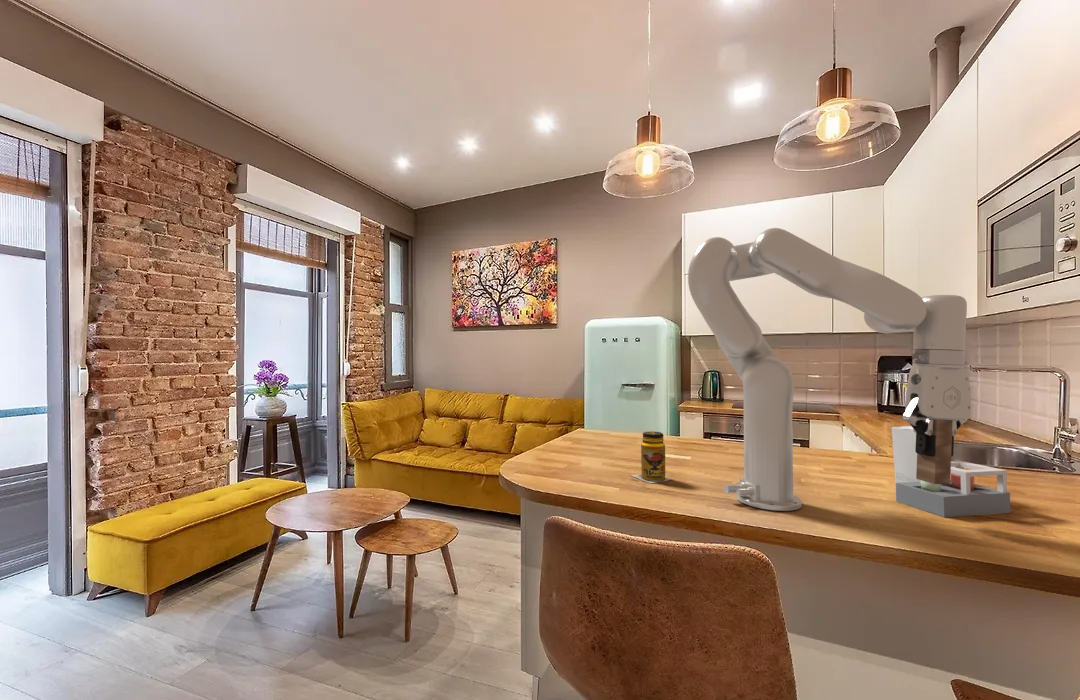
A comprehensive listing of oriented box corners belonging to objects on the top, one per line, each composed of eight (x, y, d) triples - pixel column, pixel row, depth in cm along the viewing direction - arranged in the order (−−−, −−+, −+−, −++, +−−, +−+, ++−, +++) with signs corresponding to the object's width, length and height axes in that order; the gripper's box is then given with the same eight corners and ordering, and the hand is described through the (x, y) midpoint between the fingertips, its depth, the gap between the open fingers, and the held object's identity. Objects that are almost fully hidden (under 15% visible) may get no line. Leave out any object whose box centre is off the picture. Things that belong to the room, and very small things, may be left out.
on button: (932, 494, 92) (931, 476, 92) (916, 490, 95) (916, 472, 95) (945, 494, 93) (944, 476, 93) (929, 489, 96) (929, 472, 96)
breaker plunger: (964, 493, 93) (964, 477, 93) (946, 488, 97) (946, 473, 97) (979, 492, 94) (979, 477, 94) (960, 487, 97) (960, 472, 97)
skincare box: (948, 495, 103) (947, 430, 103) (925, 496, 102) (924, 430, 102) (913, 485, 111) (912, 424, 111) (891, 486, 110) (890, 425, 110)
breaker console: (944, 517, 88) (943, 474, 89) (896, 501, 98) (895, 462, 98) (1010, 512, 91) (1009, 471, 91) (957, 497, 101) (956, 460, 101)
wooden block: (934, 484, 85) (937, 409, 85) (916, 478, 88) (919, 407, 88) (950, 484, 85) (953, 410, 85) (931, 478, 89) (934, 407, 89)
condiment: (651, 483, 112) (651, 435, 112) (630, 476, 120) (629, 430, 120) (673, 480, 116) (673, 433, 116) (651, 472, 123) (650, 428, 123)
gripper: (920, 358, 82) (916, 459, 82) (995, 362, 84) (991, 459, 84) (883, 357, 89) (879, 450, 89) (952, 360, 92) (949, 450, 92)
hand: (934, 453), depth 87 cm, fingers closed on wooden block, 3 cm apart
